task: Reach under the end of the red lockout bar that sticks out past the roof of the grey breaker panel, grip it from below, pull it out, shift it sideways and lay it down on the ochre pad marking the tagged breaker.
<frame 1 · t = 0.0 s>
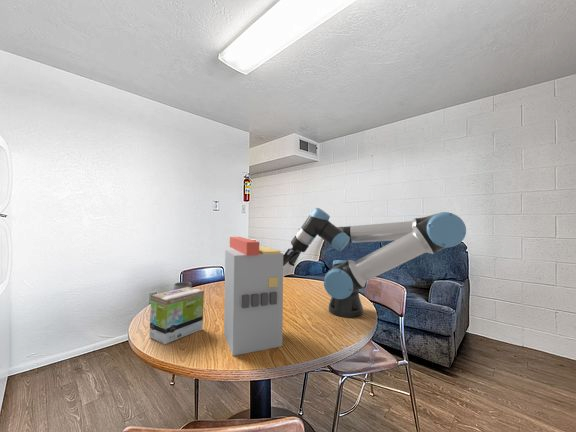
hand: (275, 277, 115), 15 cm above the table, tool tilted 35°, fingers open, 13 cm apart
cup: (182, 305, 123), on the table
lockout bar: (242, 250, 92), point 30 cm above the table, touching breaker panel
ochre pad: (258, 332, 93), resting on breaker panel
tea box: (177, 334, 92), on the table
breaker panel: (251, 339, 87), on the table
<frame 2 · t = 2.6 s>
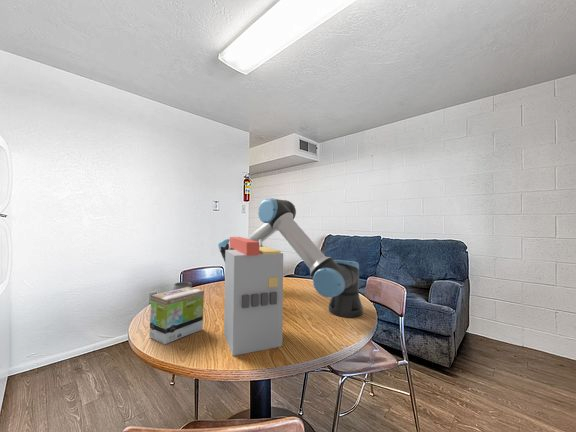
hand: (246, 241, 114), 31 cm above the table, tool pointing upward, fingers open, 13 cm apart
nothing on the table moved.
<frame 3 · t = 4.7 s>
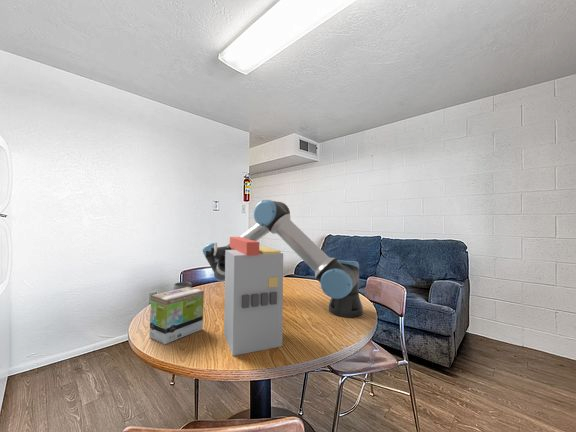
hand: (233, 245, 104), 31 cm above the table, tool pointing upward, fingers open, 13 cm apart
nothing on the table moved.
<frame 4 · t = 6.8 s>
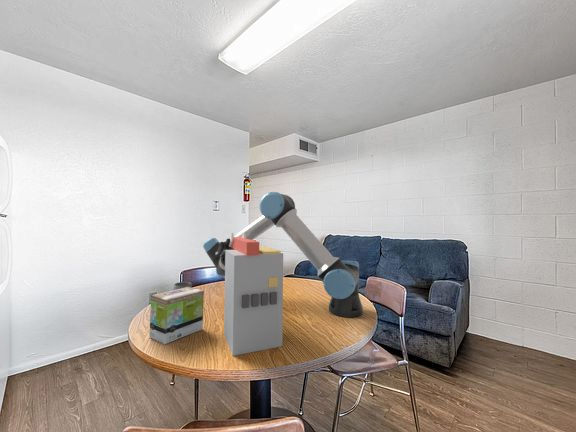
hand: (238, 236, 98), 35 cm above the table, tool pointing upward, fingers closed on lockout bar, 4 cm apart
lockout bar: (242, 250, 92), point 30 cm above the table, touching breaker panel, gripper
everything else where it was.
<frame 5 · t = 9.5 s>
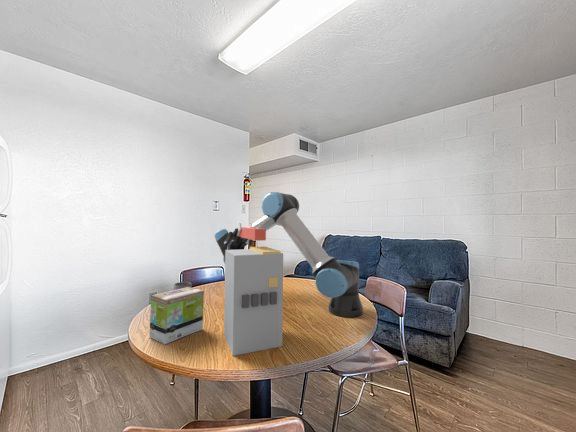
hand: (246, 226, 109), 38 cm above the table, tool pointing upward, fingers closed on lockout bar, 4 cm apart
lockout bar: (249, 238, 103), point 34 cm above the table, touching gripper
everything else where it was.
when the fingers open (36 cm above the table, at t = 12.1 s): lockout bar stays where it is, resting on ochre pad.
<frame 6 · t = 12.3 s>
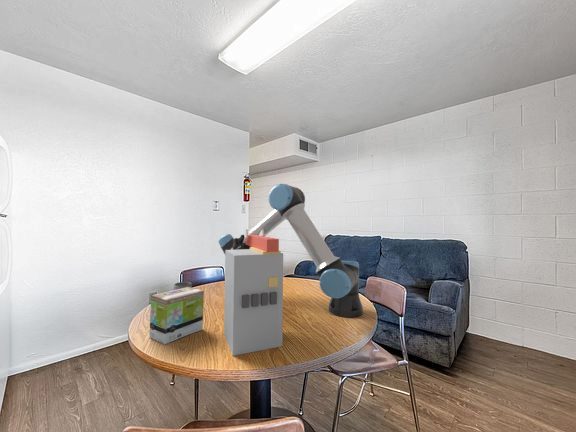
hand: (255, 232, 100), 36 cm above the table, tool pointing upward, fingers open, 6 cm apart
lockout bar: (259, 247, 94), point 31 cm above the table, touching ochre pad
everything else where it was.
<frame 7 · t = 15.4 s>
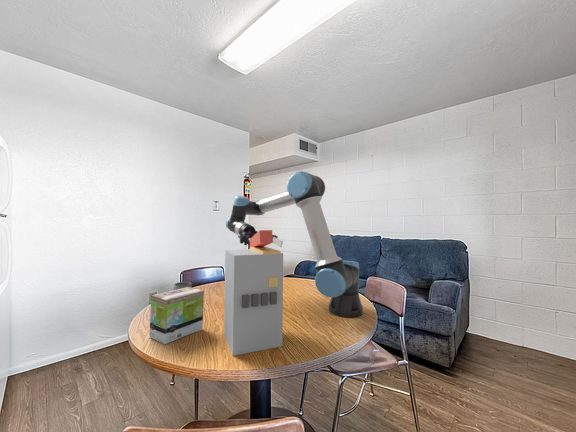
hand: (269, 245, 112), 30 cm above the table, tool tilted 75°, fingers open, 13 cm apart
lockout bar: (259, 246, 93), point 31 cm above the table, tilted 10°, touching ochre pad
everything else where it was.
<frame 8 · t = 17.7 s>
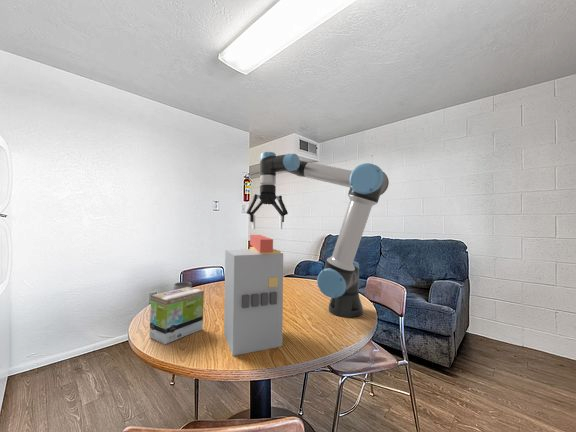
hand: (267, 229, 123), 37 cm above the table, tool pointing down, fingers open, 13 cm apart
lockout bar: (259, 247, 93), point 31 cm above the table, touching ochre pad
everything else where it was.
at the end: lockout bar 0.9 cm from the ochre pad (horizontally); lockout bar point 30.8 cm above the table; the gripper is holding nothing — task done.
